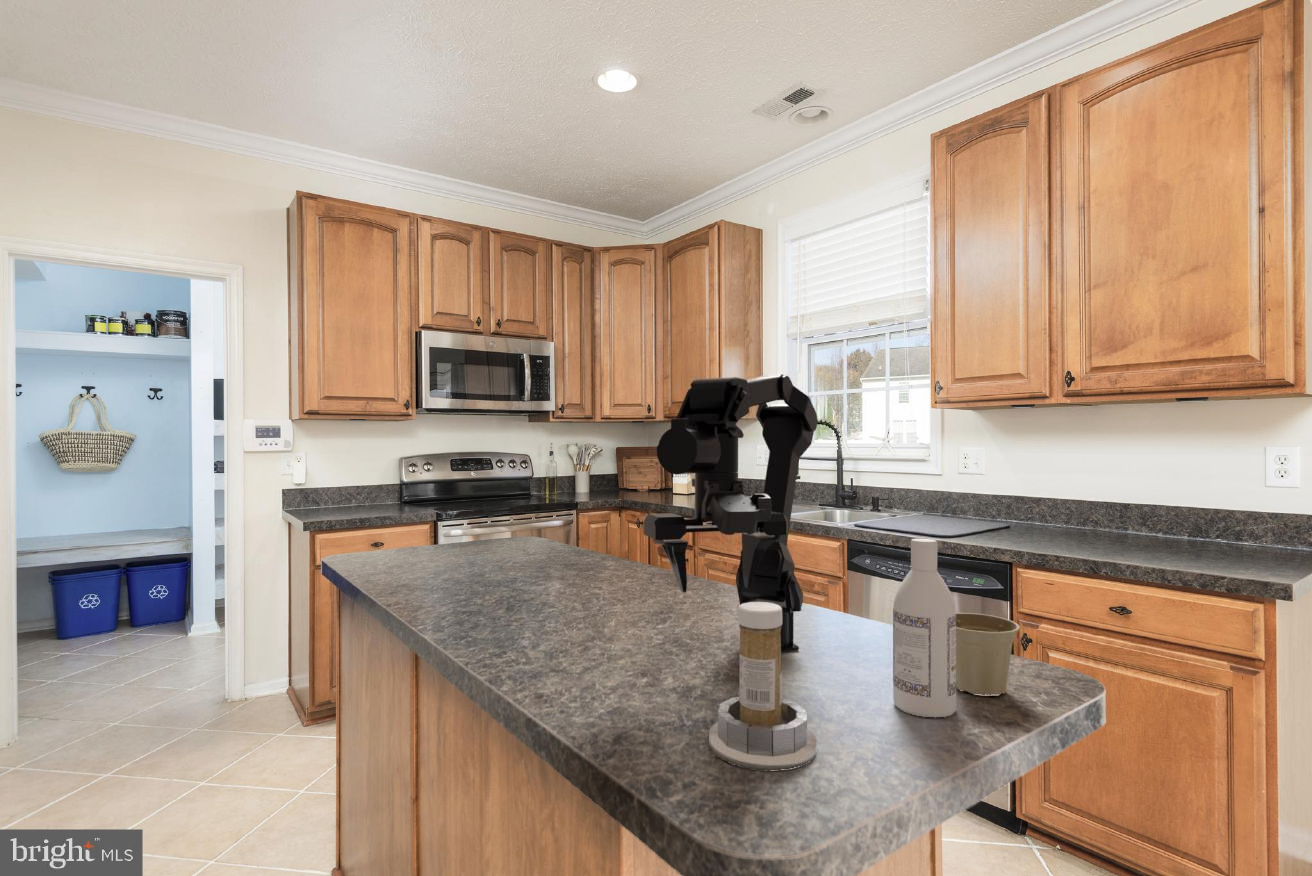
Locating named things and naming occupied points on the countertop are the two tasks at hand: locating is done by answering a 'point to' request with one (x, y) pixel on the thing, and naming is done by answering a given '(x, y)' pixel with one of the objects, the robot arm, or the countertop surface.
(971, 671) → the flower pot
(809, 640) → the countertop surface
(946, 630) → the bath foam
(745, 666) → the sprinkles bottle
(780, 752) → the socket
